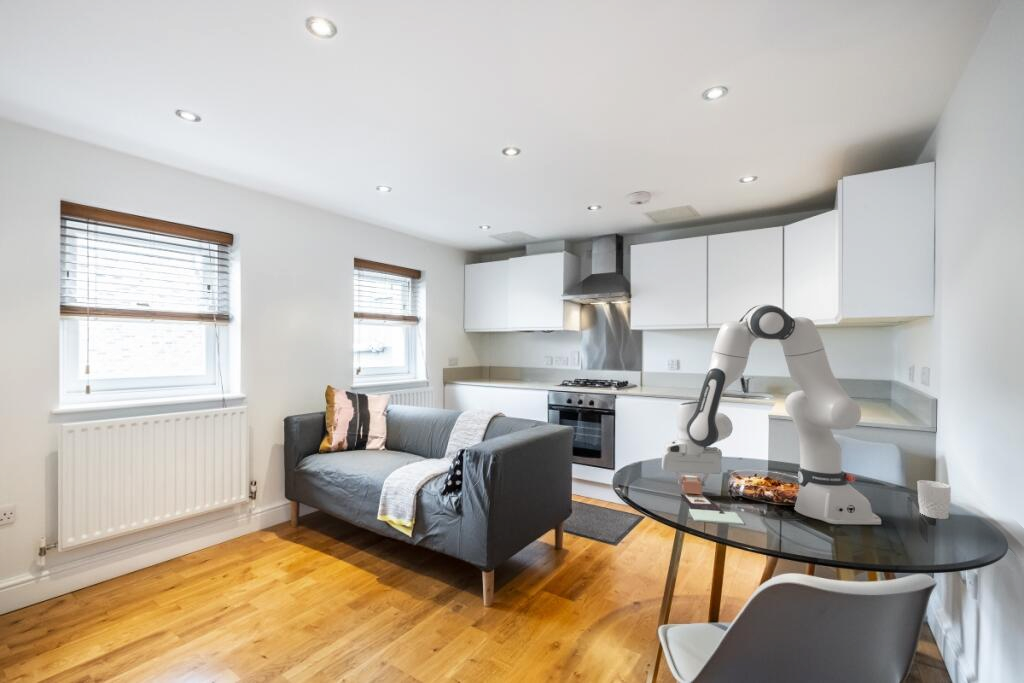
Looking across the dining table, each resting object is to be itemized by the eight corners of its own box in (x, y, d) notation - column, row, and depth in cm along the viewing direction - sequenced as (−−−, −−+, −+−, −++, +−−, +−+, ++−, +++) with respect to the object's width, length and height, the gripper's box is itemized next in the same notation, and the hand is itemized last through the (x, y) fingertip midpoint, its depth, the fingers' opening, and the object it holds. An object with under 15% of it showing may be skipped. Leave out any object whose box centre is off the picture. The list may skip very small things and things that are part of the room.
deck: (682, 485, 169) (681, 474, 169) (699, 486, 167) (699, 475, 167) (683, 492, 160) (683, 481, 160) (701, 494, 158) (701, 482, 158)
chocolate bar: (696, 512, 144) (680, 494, 162) (696, 515, 144) (680, 496, 162) (725, 513, 143) (706, 495, 161) (725, 516, 143) (706, 497, 161)
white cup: (944, 513, 147) (944, 482, 147) (955, 521, 139) (955, 489, 140) (913, 509, 150) (913, 479, 150) (922, 517, 143) (922, 485, 143)
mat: (735, 513, 145) (735, 512, 145) (744, 524, 136) (744, 523, 136) (689, 510, 148) (689, 508, 148) (694, 520, 139) (694, 519, 139)
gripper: (719, 445, 165) (720, 483, 164) (660, 443, 169) (661, 480, 169) (723, 449, 158) (724, 489, 158) (662, 447, 163) (663, 485, 163)
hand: (691, 484), depth 164 cm, fingers closed on deck, 6 cm apart
